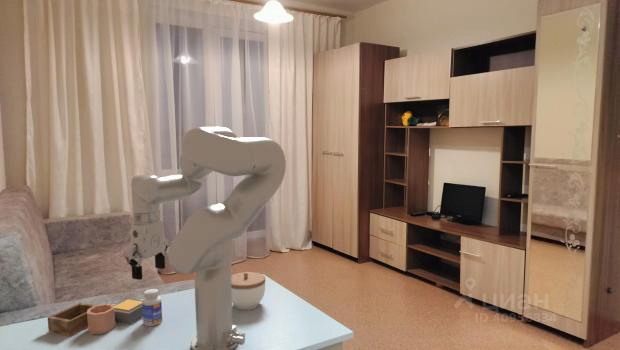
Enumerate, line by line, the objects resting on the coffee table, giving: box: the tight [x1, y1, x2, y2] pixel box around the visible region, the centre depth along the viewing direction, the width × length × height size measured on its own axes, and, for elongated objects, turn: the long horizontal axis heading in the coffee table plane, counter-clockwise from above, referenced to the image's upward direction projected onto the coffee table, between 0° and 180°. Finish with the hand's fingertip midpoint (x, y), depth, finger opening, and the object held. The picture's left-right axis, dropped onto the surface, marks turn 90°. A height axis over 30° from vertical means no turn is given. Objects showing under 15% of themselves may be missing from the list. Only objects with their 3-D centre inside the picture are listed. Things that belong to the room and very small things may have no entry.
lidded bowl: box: [231, 271, 266, 311], centre depth 136 cm, size 13×13×11 cm
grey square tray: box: [113, 297, 143, 325], centre depth 129 cm, size 9×9×4 cm
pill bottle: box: [142, 288, 163, 327], centre depth 125 cm, size 5×5×10 cm
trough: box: [47, 302, 97, 337], centre depth 123 cm, size 8×11×4 cm
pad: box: [114, 299, 142, 312], centre depth 129 cm, size 6×6×1 cm
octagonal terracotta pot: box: [87, 303, 116, 335], centre depth 121 cm, size 7×7×6 cm
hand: (149, 273), depth 124 cm, fingers open, 9 cm apart
